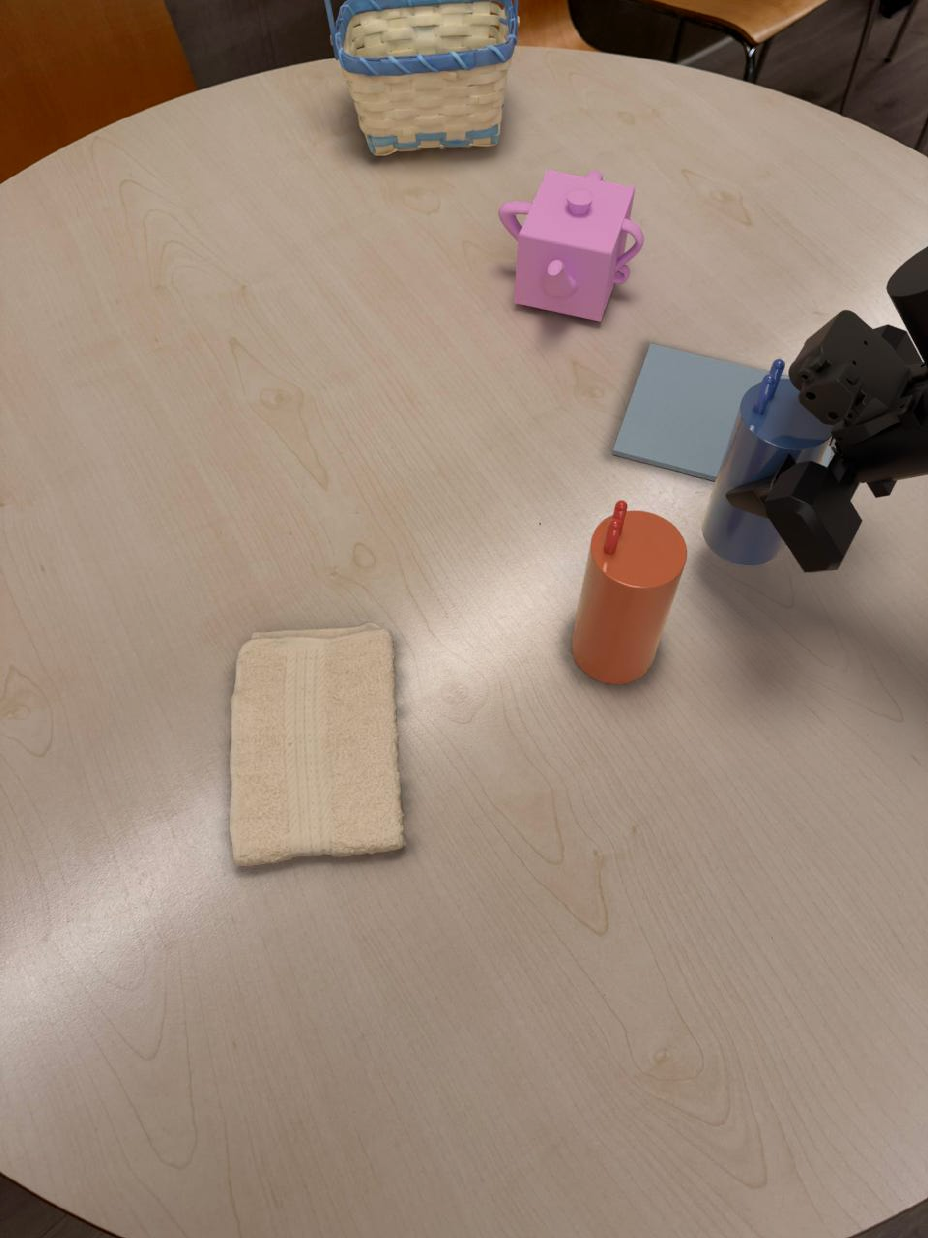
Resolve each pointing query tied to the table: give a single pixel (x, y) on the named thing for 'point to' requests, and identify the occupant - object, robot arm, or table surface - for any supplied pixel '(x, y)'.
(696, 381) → the blue mat
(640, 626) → the red spoon jar
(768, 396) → the blue spoon jar
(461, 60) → the basket
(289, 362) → the table surface
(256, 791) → the washcloth
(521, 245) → the teapot
